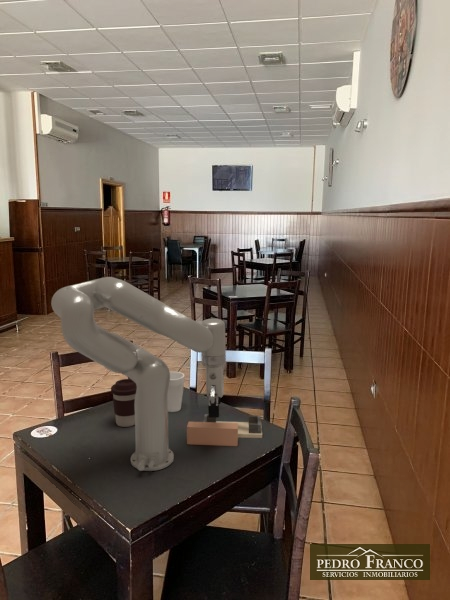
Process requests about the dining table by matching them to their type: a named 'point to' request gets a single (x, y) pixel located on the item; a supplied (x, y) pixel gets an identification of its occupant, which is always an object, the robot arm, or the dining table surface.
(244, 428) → the board
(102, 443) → the dining table surface
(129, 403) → the coffee cup
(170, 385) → the foam cup
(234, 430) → the orange brown rectangular block
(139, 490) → the dining table surface
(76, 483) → the dining table surface
